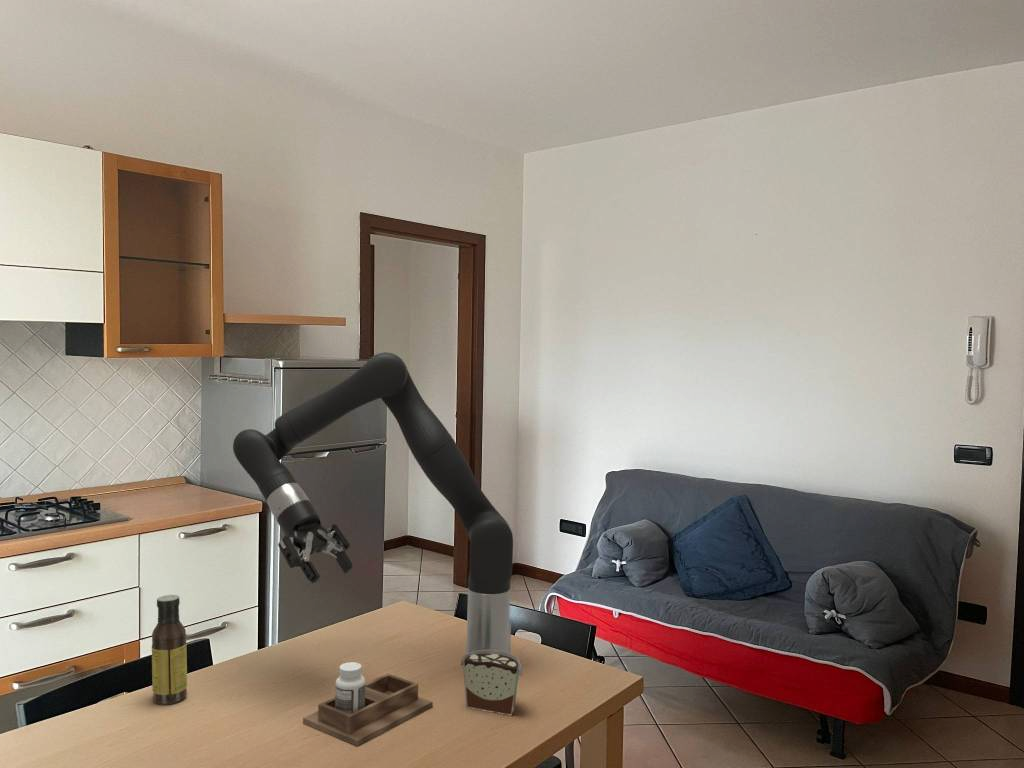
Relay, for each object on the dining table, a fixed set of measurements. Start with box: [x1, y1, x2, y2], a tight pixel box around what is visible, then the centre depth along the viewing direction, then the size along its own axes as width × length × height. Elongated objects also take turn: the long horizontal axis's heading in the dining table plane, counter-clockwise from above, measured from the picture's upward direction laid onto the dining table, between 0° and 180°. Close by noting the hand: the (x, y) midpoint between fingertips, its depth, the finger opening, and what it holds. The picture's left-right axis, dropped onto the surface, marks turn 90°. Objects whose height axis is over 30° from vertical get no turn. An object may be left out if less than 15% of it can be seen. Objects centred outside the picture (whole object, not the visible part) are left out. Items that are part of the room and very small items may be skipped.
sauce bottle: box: [151, 594, 188, 706], centre depth 155 cm, size 6×6×20 cm
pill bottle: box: [334, 661, 366, 714], centre depth 147 cm, size 5×5×10 cm
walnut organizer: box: [302, 673, 434, 747], centre depth 151 cm, size 20×14×4 cm
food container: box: [459, 650, 523, 716], centre depth 157 cm, size 12×6×10 cm, turn 71°
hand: (333, 575), depth 157 cm, fingers open, 8 cm apart
